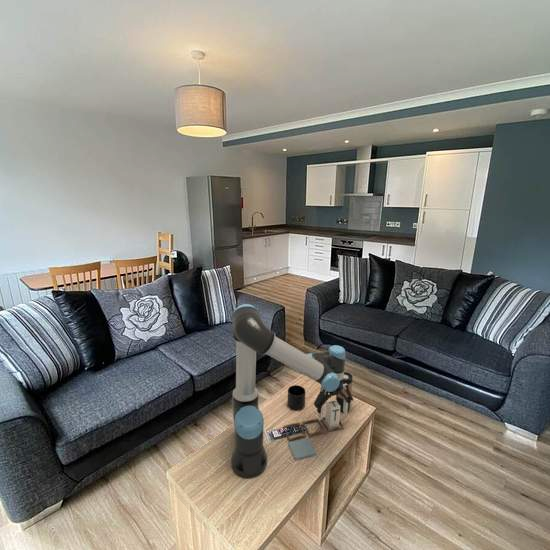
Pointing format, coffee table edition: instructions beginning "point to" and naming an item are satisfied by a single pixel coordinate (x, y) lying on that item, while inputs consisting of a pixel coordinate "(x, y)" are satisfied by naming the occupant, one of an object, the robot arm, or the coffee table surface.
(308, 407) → the coffee table surface
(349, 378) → the travel mug
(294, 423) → the wooden picture frame
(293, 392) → the mug
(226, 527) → the coffee table surface
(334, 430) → the wooden frame right
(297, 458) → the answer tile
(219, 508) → the coffee table surface
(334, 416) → the letter block
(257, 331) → the robot arm
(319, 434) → the wooden window frame
